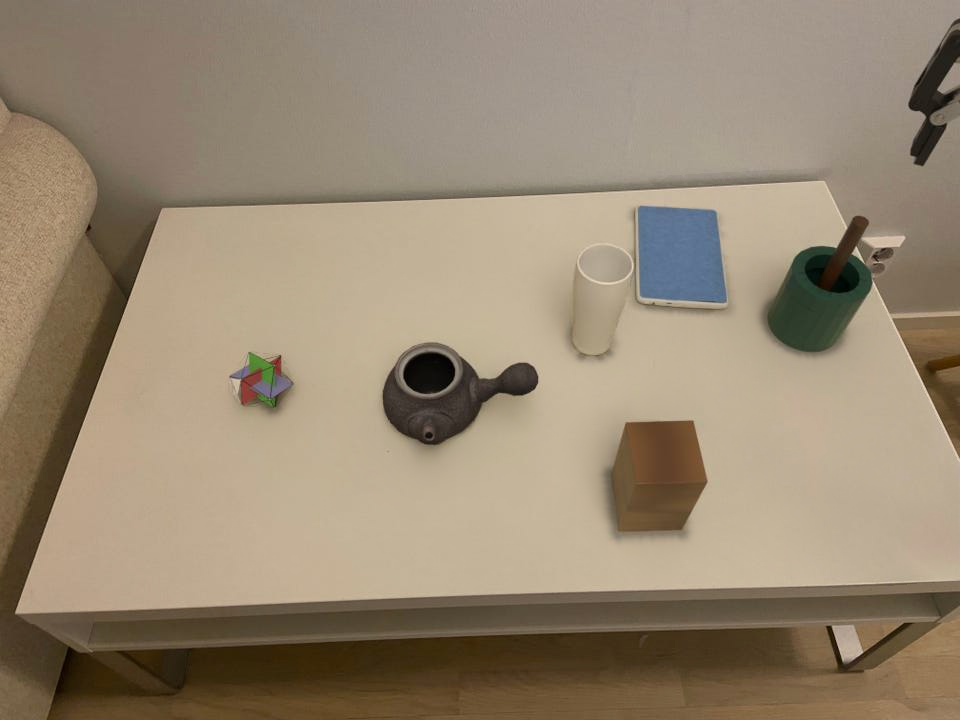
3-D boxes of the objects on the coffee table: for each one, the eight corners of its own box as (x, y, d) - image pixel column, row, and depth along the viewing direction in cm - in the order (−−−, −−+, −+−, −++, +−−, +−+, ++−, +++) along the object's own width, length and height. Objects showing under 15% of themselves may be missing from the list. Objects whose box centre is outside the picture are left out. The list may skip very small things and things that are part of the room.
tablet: (728, 311, 96) (730, 305, 95) (635, 305, 97) (636, 298, 96) (716, 215, 107) (719, 208, 106) (633, 210, 108) (635, 203, 107)
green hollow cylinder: (847, 312, 95) (879, 261, 87) (831, 362, 90) (864, 312, 82) (777, 288, 98) (802, 236, 90) (759, 335, 93) (783, 285, 85)
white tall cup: (555, 340, 93) (563, 262, 81) (589, 313, 96) (603, 233, 84) (593, 370, 90) (607, 293, 78) (627, 342, 93) (647, 263, 81)
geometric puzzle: (271, 344, 91) (230, 340, 84) (312, 366, 89) (273, 363, 82) (251, 394, 92) (208, 394, 85) (291, 417, 90) (250, 419, 82)
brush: (821, 316, 94) (880, 216, 80) (815, 335, 92) (874, 235, 78) (794, 307, 95) (847, 206, 81) (787, 325, 93) (841, 225, 79)
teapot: (380, 471, 83) (367, 428, 75) (387, 365, 92) (376, 316, 84) (539, 466, 83) (544, 423, 74) (530, 360, 92) (534, 311, 84)
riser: (670, 473, 82) (693, 420, 72) (681, 530, 78) (708, 482, 68) (610, 474, 82) (625, 422, 72) (618, 531, 78) (635, 484, 68)
